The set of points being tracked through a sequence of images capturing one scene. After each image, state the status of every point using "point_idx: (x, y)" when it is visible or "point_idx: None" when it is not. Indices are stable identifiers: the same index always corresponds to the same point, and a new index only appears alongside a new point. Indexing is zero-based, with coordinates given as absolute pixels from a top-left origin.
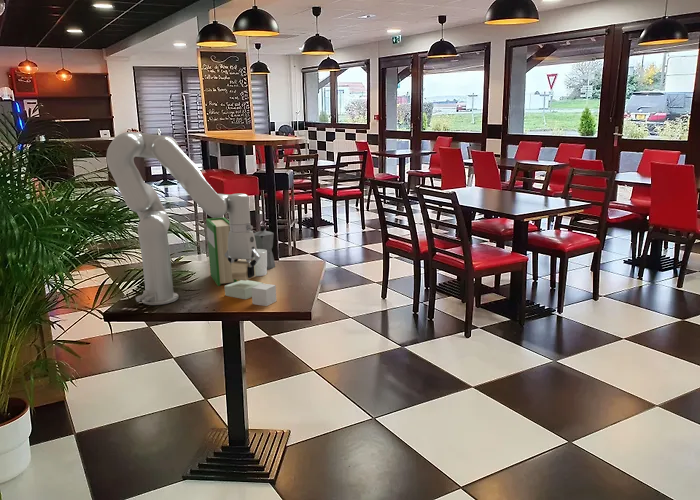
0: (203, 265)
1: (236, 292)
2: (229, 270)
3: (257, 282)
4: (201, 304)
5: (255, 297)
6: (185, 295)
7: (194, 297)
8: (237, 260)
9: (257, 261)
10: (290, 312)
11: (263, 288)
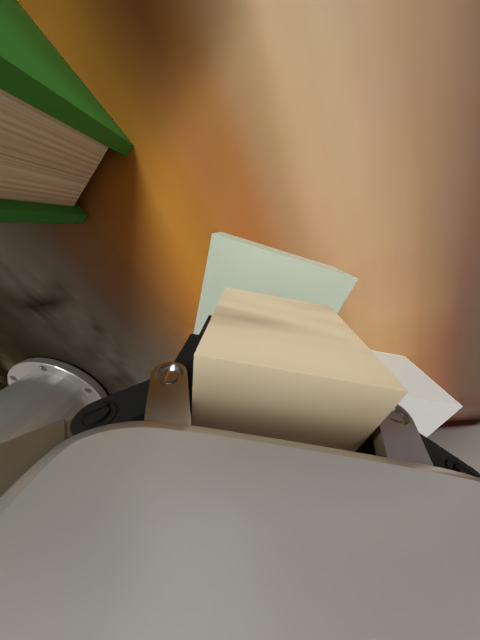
0: None
1: None
2: (16, 126)
3: (322, 279)
4: None
5: None
6: (84, 352)
7: (125, 362)
8: (189, 408)
9: (474, 474)
10: (449, 422)
11: None
